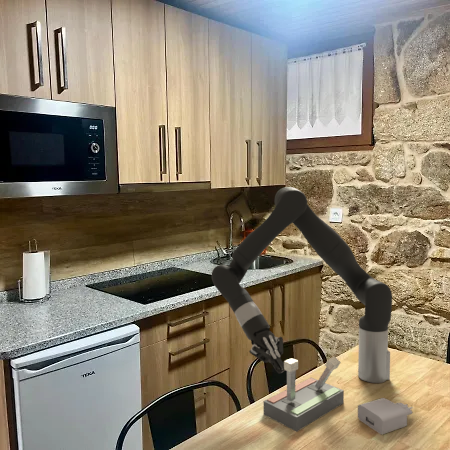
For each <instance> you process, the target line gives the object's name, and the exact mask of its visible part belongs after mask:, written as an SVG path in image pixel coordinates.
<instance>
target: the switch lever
mask: <svg viewBox="0 0 450 450" xmlns="http://www.w3.org/2000/svg"><path fill="white" fill-rule="evenodd" d="M283 363H284V370H285V371H286V390H287V400H289V401H293V400H294V399H295V385H296V371H297V370H298V369H299V360H298V359H295V358H289V359H285V360H284V361H283Z"/></svg>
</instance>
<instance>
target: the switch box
mask: <svg viewBox="0 0 450 450" xmlns="http://www.w3.org/2000/svg"><path fill="white" fill-rule="evenodd" d="M318 380H319V379H316V378H313V377H309V378H308V379H305V380H303V381H301V382H299V383H296V384H295V399H294V400H293V401H289V400H287V389H286V390H283V391H281V392H279V393H277V394H275V395H273V396H271V397H269V398H267V399H265V400H263V415H264V416H265V417H268V418H269V419H271V420H273V421H276V422H278V423H279V424H281V425H283V426H285V427H287V428H289V429H291V431H295V432H299V431H301V430H302V429H304V428H305V427H307V426H309V425H311V424H312V423H313V422H315V421H316V420H318V419H320V418H322V417H323V416H325V415H327V414H329V413H330V412H331V411H333V410H335V409H336V408H338V407H339V406H342V405H343V404H344V402H345V401H344V398H345V397H344V396H345V395H344V394H345V393H344V391H345V390H344V389H341V388H339V387H336V386H334V385H331V384H328V383H326V382H325V384H324V385H323V387H322V388H320V389H317V388H316V387H315V385H316V383H317V381H318Z"/></svg>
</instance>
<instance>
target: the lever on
mask: <svg viewBox="0 0 450 450" xmlns="http://www.w3.org/2000/svg"><path fill="white" fill-rule="evenodd" d="M340 364H341V360H339V359H338V358H337V357H336V356H332V357H330V358H328V359H327V361H326V363H325V364H324V366H325V369H324V370H323V372H322V374H321V375H320V376H319V379H317V380H318V381H317V383H316V385H315V387H316V388H317V389H320V388H322V387H323V385H324V384H325V383H326V382H327V381H328V380H329V377H330V376H331V374H332V372H333V371H334V370H336V369H338V368H339V366H340Z"/></svg>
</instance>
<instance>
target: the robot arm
mask: <svg viewBox="0 0 450 450" xmlns="http://www.w3.org/2000/svg"><path fill="white" fill-rule="evenodd" d="M274 206H275V207H274V209H273V210H272V211H271V213H270V214H269V216H267V218H266V219H265V220H264V221H263V222H262V223H261V224H260V225H259V226H258V227H257V228H255V229H254V230H252V232H249V234H248V235H247V236H245V238H244V239H243V240H242V241H241V242H240V243H239V245H238V246H237V247H236V248H235V249H234V250H233V252H232V254H231V257H232V260H231V262H230V264H229V265H226V264H219V265H216V266H215V267H213V269H212V270H211V271H212V272H211V280H212V283H213V285H214V287H215V288H216V289H217V291H218V292H219V293H220V294H221V295H222V297H223V298H224V299H225V300H226V302H227V303H228V305H229V306H230V308H231V310H232V311H233V314H234V316H235V318H236V320H237V322H238V323H239V326H240V328H241V329H242V331H243V333H244V334H245V336H246V338H247V340H249V341H250V343H251V345H252V346H251V348H250V350H249V351H248V352H249V354H251V356H252V355H253V357H255V358H257V359H259V360H260V361H262V362H263V363H270V364H271V365H272V367H273V368H274V370H275V371H276V373H277V374H282V373H284V372H285V371H286V370H284V361H283V360H282V358H281V356H282V355H283V354H284V338H283V337H282V336H279V337H278V336H275V334H274V333H273V332H272V331H271V327H270V324H269V322H268V321H267V320H266V318H265V316H264V314H263V312H262V311H261V310H260V308H259V306H258V305H257V304H256V303H255V302H254V299H253V298H252V296H251V295H250V293H249V292H248V291H247V289H246V288H244V287H243V286H241V284H240V283H241V282H242V280H244V279H243V278H244V277H245V276H246V274H247V272H248V271H249V268H250V266H252V265H253V263H254V262H255V261H256V260H257V259H258V258H259V256H261V254H262V253H263V252H264V251H265V249H266V248H267V247H268V246H270V244H271V243H272V242H273V241H274V240H275V239H276V238H277V237H278V236H279V235H280V234H281V233H282V232H283V231H284V230H286V229H287V228H288V227H289V226H290V225H291V224H293V225H294V226H295V227H296V228H297V229H298V230H299V231H300V233H301V234H302V236H303V237H304V238H305V240H306V242H308V244H309V245H310V247H311V248H312V249H313V251H314V252H315V253H316V254H317V255H318V256H319V257H320V258H321V259H322V261H323V262H324V263H326V265H328V267H329V268H330V269H331V270H332V271H333V272H334V273H335V274H336V275H338V277H340V278H341V279H342V280H343V281H344V283H346V285H347V287H348V288H349V289H350V290H351V292H352V293H353V294H354V295H353V296H354V297H356V299H357V300H358V301H359V302H360V303H361V304H363V305H364V315H362V316H360V318H359V319H358V359H357V360H358V365H357V366H358V368H357V369H358V370H357V375H358V378H360V380H362V381H364V382H367V383H371V384H382V383H385V382H386V381H387V380H390V379H391V376H390V375H391V351H390V350H388V349H389V347H388V345H389V325H390V322H391V319H392V308H393V294H392V290H391V287H390V286H388V284H386V283H385V282H382V281H380V280H377V279H375V278H374V277H372V276H371V275H370V274H369V273H368V272H366V270H364V269H363V268H362V267H361V265H360V264H359V263H358V261H357V259H356V257H355V255H354V252H353V251H352V249H351V247H350V246H349V245H348V243H347V242H346V241H345V240H344V239H343V238H342V237H341V235H340V234H339V233H337V232H336V230H335V229H333V227H331V226H330V225H328V223H327V222H325V221H324V220H323V219H322V218H320V217H319V216H318V215H317V214H316V213H315V212H314V211H313V210H312V208H311V207H310V205H309V204H308V199H307V197H306V194H304V192H302V191H301V190H299V189H298V188H295V187H292V186H285V187H282V188H280V189H279V190H278V191H277V192H276V193H275V196H274Z"/></svg>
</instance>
